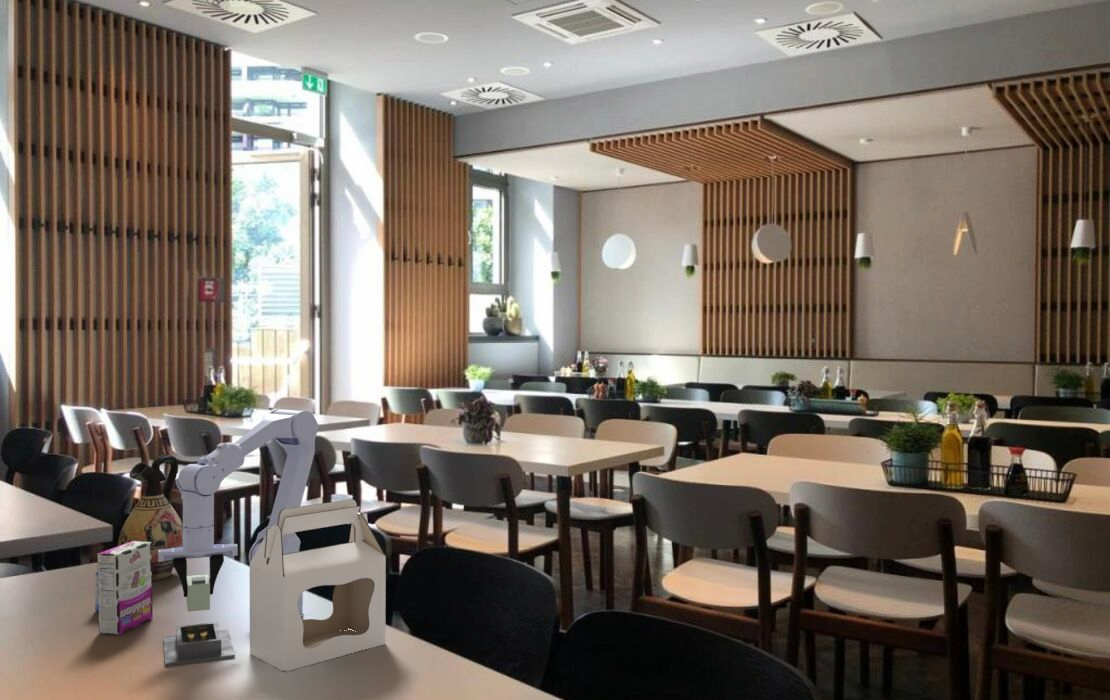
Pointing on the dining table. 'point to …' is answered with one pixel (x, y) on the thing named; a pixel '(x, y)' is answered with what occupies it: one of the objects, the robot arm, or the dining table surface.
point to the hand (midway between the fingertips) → (198, 594)
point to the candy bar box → (124, 587)
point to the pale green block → (198, 592)
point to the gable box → (289, 575)
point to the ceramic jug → (155, 514)
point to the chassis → (197, 644)
